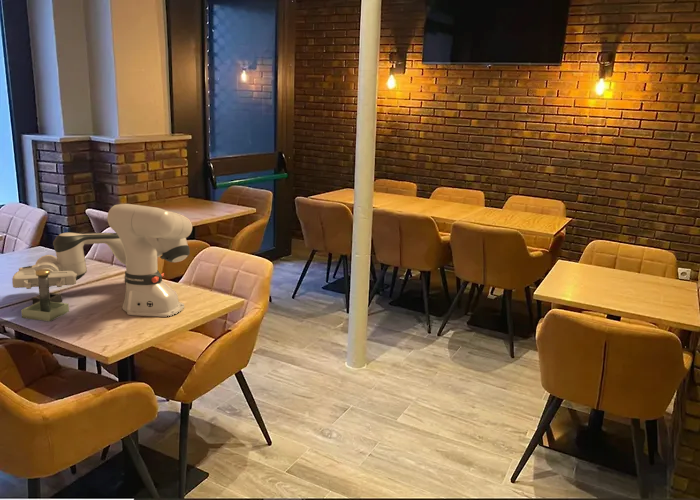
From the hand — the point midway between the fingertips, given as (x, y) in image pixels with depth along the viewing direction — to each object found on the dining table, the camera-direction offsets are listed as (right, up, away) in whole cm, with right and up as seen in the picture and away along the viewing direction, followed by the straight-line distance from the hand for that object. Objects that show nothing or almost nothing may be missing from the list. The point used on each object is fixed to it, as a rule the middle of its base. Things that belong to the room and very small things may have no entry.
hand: (44, 285), depth 200 cm
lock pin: (-1, -9, +3) cm, 10 cm away
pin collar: (-6, -8, +14) cm, 17 cm away
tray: (-1, -10, +3) cm, 11 cm away
